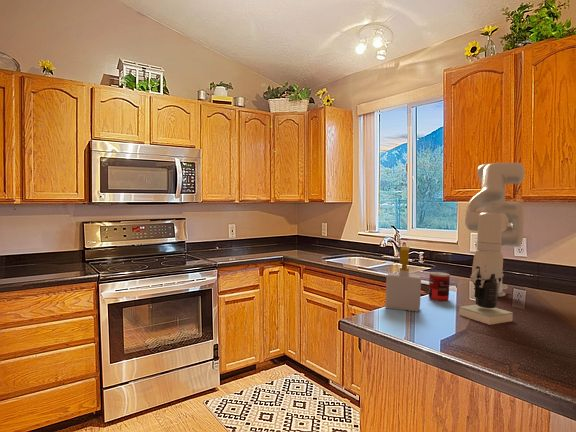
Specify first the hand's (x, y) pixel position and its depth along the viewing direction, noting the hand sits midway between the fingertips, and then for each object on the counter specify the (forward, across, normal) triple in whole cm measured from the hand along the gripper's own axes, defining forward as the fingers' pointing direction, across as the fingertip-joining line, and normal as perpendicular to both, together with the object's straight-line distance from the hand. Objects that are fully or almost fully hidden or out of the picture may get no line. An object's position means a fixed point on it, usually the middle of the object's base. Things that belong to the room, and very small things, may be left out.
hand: (486, 296), depth 136 cm
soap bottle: (+8, +20, -20) cm, 29 cm away
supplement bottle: (+4, 0, 0) cm, 4 cm away
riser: (+8, 0, 0) cm, 8 cm away
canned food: (+8, -5, -26) cm, 28 cm away
